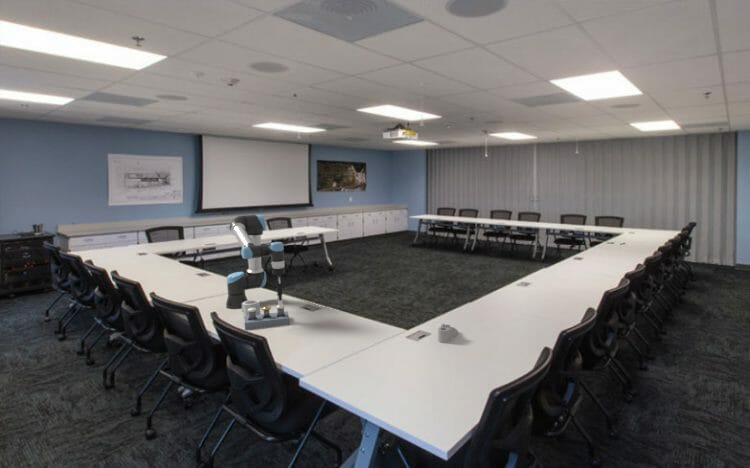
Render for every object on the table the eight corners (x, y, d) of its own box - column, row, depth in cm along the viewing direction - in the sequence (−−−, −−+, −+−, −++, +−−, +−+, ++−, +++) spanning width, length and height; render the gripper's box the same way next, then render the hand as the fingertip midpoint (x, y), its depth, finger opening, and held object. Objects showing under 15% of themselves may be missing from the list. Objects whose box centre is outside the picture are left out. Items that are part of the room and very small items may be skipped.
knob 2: (276, 314, 259) (276, 305, 258) (284, 313, 260) (284, 304, 260) (277, 317, 254) (276, 307, 253) (285, 316, 256) (284, 306, 255)
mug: (264, 315, 272) (263, 300, 271) (252, 320, 262) (252, 304, 261) (248, 312, 277) (247, 298, 276) (236, 317, 268) (235, 302, 267)
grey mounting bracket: (459, 333, 231) (459, 319, 230) (446, 344, 216) (446, 329, 215) (449, 331, 234) (449, 317, 233) (436, 342, 219) (436, 327, 218)
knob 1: (248, 317, 254) (247, 308, 253) (256, 316, 256) (256, 307, 255) (248, 320, 249) (247, 310, 249) (256, 319, 251) (256, 309, 250)
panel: (245, 322, 258) (245, 316, 258) (287, 317, 266) (287, 311, 265) (245, 329, 245) (244, 323, 245) (289, 324, 252) (289, 318, 252)
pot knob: (262, 316, 257) (261, 306, 256) (270, 315, 258) (270, 305, 257) (262, 318, 252) (262, 308, 251) (271, 317, 253) (270, 307, 252)
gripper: (271, 266, 259) (273, 302, 262) (272, 270, 246) (274, 308, 249) (283, 265, 261) (285, 301, 264) (285, 269, 248) (287, 307, 251)
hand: (280, 304), depth 256 cm, fingers closed
